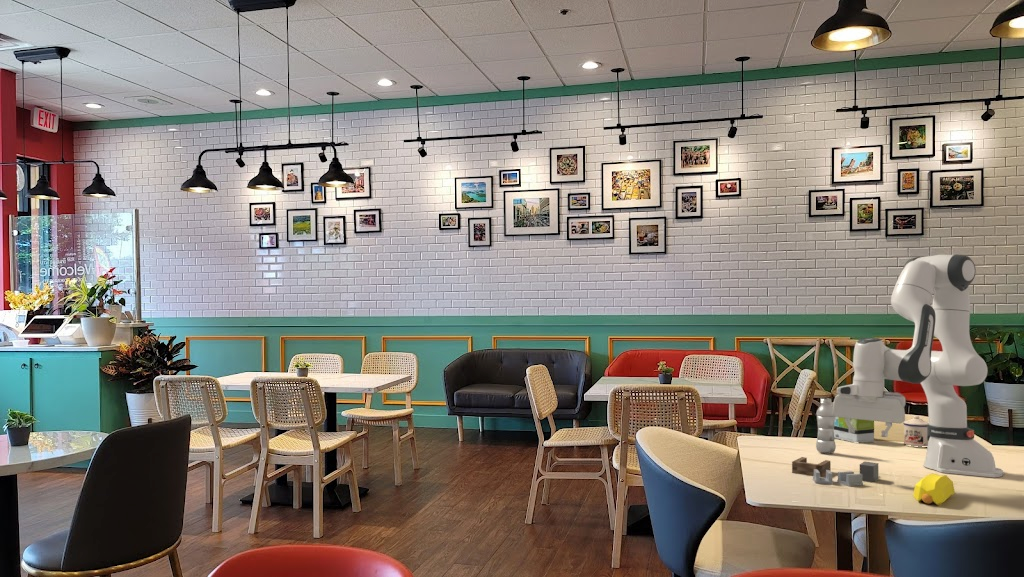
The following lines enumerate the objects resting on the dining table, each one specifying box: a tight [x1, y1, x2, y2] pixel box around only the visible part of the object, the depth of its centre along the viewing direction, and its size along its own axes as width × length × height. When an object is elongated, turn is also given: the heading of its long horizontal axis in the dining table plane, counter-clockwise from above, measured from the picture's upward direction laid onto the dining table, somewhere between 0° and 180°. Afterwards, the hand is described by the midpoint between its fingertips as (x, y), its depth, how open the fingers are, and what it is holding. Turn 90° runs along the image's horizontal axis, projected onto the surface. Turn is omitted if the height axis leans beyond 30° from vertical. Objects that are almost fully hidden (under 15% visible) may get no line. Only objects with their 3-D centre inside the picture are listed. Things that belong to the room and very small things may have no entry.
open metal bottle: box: [815, 397, 837, 455], centre depth 269 cm, size 6×7×20 cm
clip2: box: [812, 469, 834, 485], centre depth 223 cm, size 5×5×3 cm
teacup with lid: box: [902, 415, 929, 447], centre depth 285 cm, size 12×9×12 cm
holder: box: [791, 456, 832, 478], centre depth 236 cm, size 9×10×4 cm
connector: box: [859, 461, 879, 483], centre depth 228 cm, size 4×10×5 cm, turn 141°
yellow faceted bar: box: [912, 473, 956, 506], centre depth 203 cm, size 18×7×8 cm
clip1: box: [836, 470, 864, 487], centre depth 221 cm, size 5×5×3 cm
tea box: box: [831, 401, 875, 443], centre depth 299 cm, size 15×10×15 cm, turn 23°
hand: (867, 434), depth 227 cm, fingers open, 8 cm apart
